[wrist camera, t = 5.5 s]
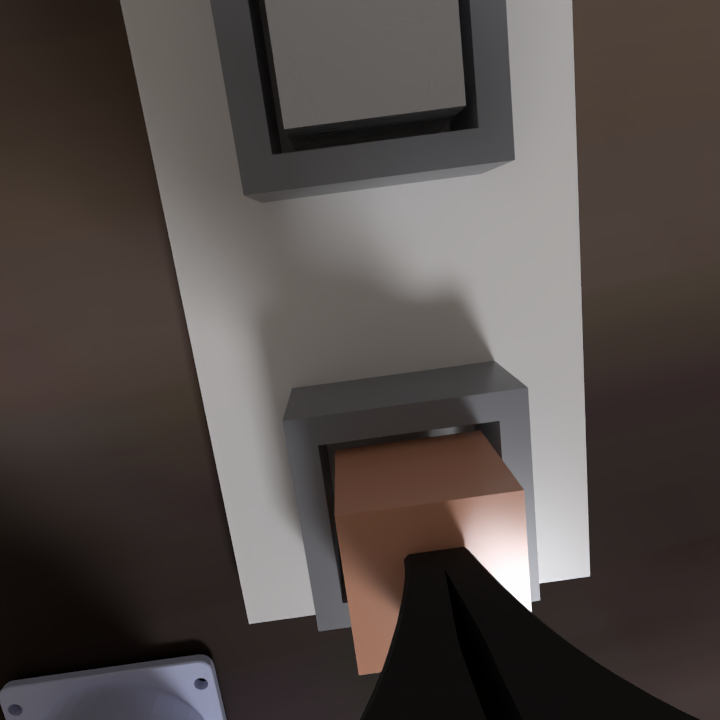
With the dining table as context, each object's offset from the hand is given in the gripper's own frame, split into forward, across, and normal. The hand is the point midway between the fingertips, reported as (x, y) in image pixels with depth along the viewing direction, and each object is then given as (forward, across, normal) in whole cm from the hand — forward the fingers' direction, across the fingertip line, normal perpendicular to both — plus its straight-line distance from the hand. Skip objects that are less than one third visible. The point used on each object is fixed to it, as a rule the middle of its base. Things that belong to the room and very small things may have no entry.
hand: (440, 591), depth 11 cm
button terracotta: (+4, 0, 0) cm, 4 cm away
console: (+8, 0, -6) cm, 10 cm away
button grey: (+6, 0, -12) cm, 13 cm away
